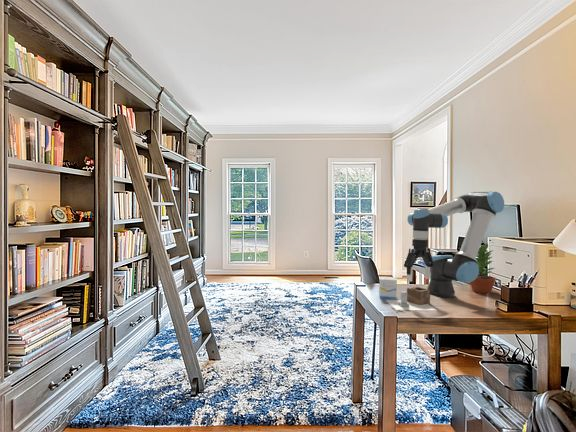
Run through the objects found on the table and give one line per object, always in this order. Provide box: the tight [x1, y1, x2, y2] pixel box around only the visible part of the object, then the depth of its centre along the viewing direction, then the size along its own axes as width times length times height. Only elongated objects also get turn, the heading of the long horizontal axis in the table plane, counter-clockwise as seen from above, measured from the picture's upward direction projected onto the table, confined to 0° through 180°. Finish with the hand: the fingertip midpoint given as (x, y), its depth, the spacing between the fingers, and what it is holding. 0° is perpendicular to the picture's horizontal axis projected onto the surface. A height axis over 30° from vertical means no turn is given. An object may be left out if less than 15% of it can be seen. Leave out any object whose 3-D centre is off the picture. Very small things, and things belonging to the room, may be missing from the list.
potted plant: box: [470, 243, 497, 294], centre depth 217 cm, size 15×15×30 cm
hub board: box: [385, 291, 438, 313], centre depth 177 cm, size 20×18×8 cm
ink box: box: [378, 276, 398, 300], centre depth 192 cm, size 8×8×12 cm
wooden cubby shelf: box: [406, 286, 431, 305], centre depth 182 cm, size 8×8×8 cm
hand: (418, 280), depth 182 cm, fingers open, 13 cm apart
